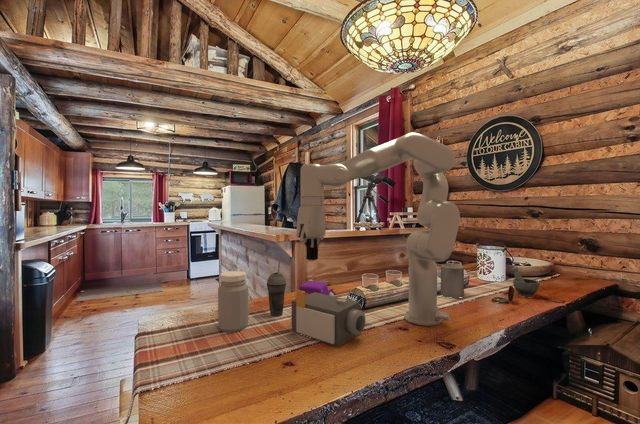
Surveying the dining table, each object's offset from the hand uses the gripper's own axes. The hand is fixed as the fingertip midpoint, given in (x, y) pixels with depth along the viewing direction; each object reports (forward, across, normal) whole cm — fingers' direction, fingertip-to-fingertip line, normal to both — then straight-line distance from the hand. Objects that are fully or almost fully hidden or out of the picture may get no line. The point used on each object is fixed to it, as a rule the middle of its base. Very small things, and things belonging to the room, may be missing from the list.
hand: (312, 259), depth 98 cm
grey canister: (+23, -68, +26) cm, 77 cm away
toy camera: (+23, -19, -12) cm, 33 cm away
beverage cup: (+23, -3, -20) cm, 31 cm away
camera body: (+23, -1, +6) cm, 24 cm away
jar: (+23, +14, -22) cm, 35 cm away
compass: (+23, -70, +46) cm, 87 cm away
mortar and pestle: (+23, -88, +52) cm, 105 cm away
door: (+22, +6, +6) cm, 23 cm away
